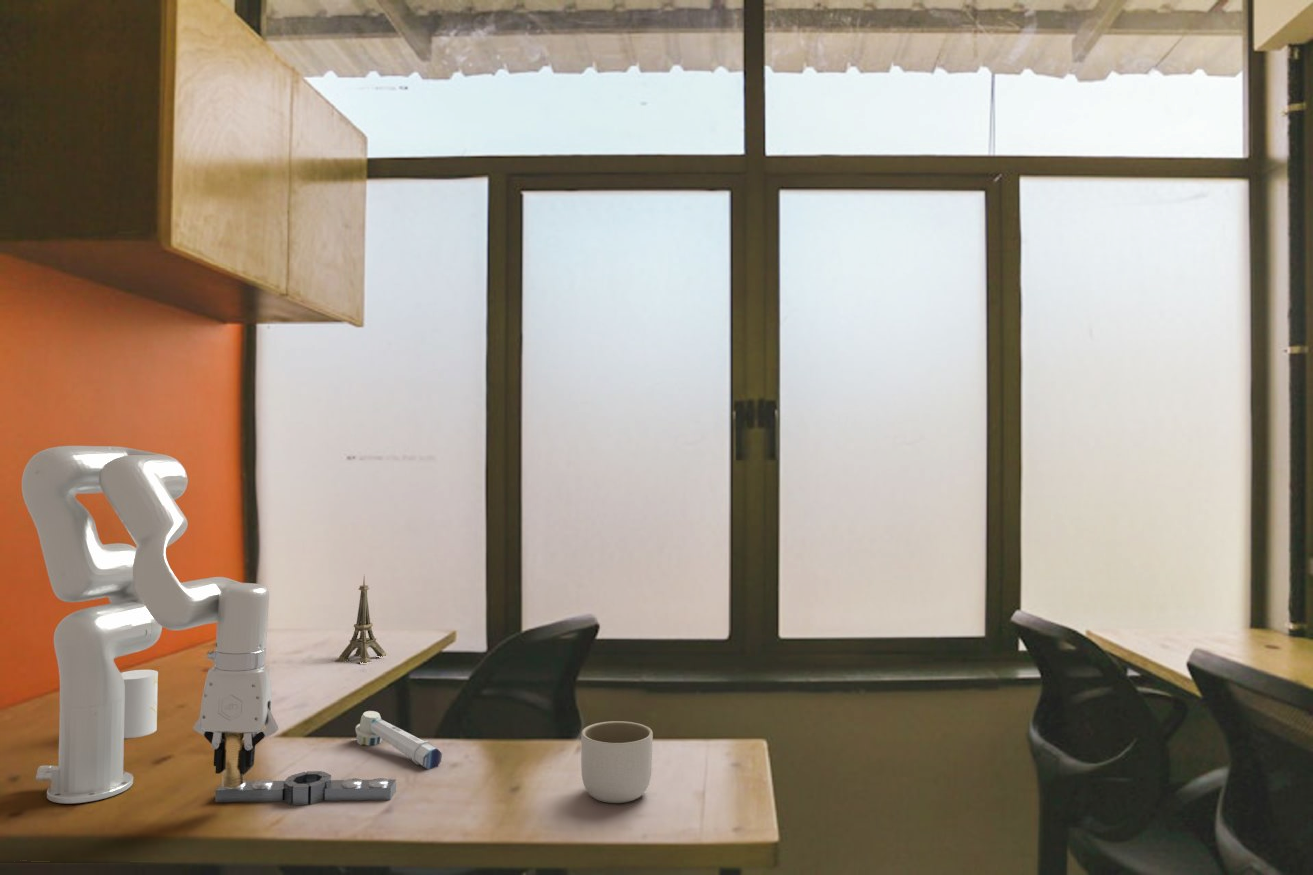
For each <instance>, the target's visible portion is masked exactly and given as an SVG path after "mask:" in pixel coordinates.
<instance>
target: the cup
mask: <svg viewBox="0 0 1313 875" xmlns="http://www.w3.org/2000/svg"><path fill="white" fill-rule="evenodd" d="M120 673H121V675H122V677H123V680H124V685H125V707H124V739H133V738H140V737H146V736H148V735H151V734H153V733H155V732H157V726H158V688H159V687H158V685H159V684H158V682H159V680H158V679H159V672H158V671H157V670H153V669H134V670H128V671H124V672H123V671H122V672H120Z"/></svg>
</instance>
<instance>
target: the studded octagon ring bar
mask: <svg viewBox="0 0 1313 875" xmlns="http://www.w3.org/2000/svg"><path fill="white" fill-rule="evenodd" d="M396 791H397V779H395V778H394V779H393V778H391V779H390V778H389V779H388V778H385V777H384V778H383V777H378V778H373V779H362V778H348V779H347V778H346V779H332V774H329V773H328V772H326V771H322V770H316V771H315V770H312V771H311V770H308V771H302V772H299V773H294V774H291V775H290V776H288V777H286V778H285V780H272V779H268V778H267V779H259V780H244V781H243V784H242V785H240V786H238V787H232V788H227V787H223V786H222V784H221V785H219V786H218V788H216V790H215V796H214V797H215V799H214V800H215V803H252V802H255V803H257V802H258V803H260V802H261V803H263V802H264V803H265V802H266V803H267V802H269V803H271V802H283V801H284V802H285V803H287V804H289V805H292V806H299V805H300V806H307V805H309V804H310V805H313V804H316V803H320V802H323V801H324V802H329V801H332V802H333V801H334V802H335V801H341V802H343V801H389V800H390V801H391V800H392V798H393V797H394V795H395V793H396Z"/></svg>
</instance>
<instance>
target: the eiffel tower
mask: <svg viewBox="0 0 1313 875" xmlns="http://www.w3.org/2000/svg"><path fill="white" fill-rule="evenodd" d="M365 581H366V580H365V575H363V583H362V585H359V588H358V590H359V591H360V594H359V595H360V596H359V603H358V611H357V615H356V617H357V618H356V623H355V624H353V628H354V631H353V633H352V634H353V635H352V637H351V639H349V644H348V645H347V646H346V647H345V649H344V650H343V651H342V652H341V654H340V655H339V657H338V658H337V659H335V660H334V662H336V663H346V662H348V661H347V660H349V661H350V658H349V657H350V656H351V654H352V653H353V651H355V650H356V651H355V653H354V654H353V655H360V656H359V657H360V659H359V662H361V663H362V662H363V663H367V662H370V661H371V658H370V655H369V652H368V649H369V648H371V649H372V651H373V652H374V653H375V655H376V656H380V657H381V656H382V657H383V656H386V655H387V652H386V651H385V650H384V649H383V648H382V646H381V645H380V644H379V643H378V642H377V637H375V635H374V633H373V630H372V627H373V626H374V624H373V622H371V618H370V610H369V609H370V608H369V600H368V590H370V588H369V585H366V583H365ZM359 632H360V633H359ZM367 634H368V637H367ZM345 661H346V662H345Z"/></svg>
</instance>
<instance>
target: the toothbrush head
mask: <svg viewBox="0 0 1313 875" xmlns="http://www.w3.org/2000/svg"><path fill="white" fill-rule="evenodd" d="M355 734H356V738H355V739H356V743H357V745H358V744H359V745H360V746H363V745H365V746H368V747H369V746H377V745H379V744H380V743H382V742H383V741H385V742H386V743H387V744H389V745H391V746H392V747H393V748H395V749H396V750H398V751H399V752H401V753H403V755H405V756H407V757H408V758H410V759H411V761H412V762H413V763H414V764H415V765H417V766H419V765H420V766H421V767H423V768H425V769H427V770H430V769H434V768H437V767H439V765H440V764H441V762H442V760H443V759H442V757H443V752H441V751H440V750H439V749H438V748H436V747H435V746H434V745H433V744H432V743H431V742H430V741H429V740H423V739H421V738H418V737H417V736H415V735H413V734H411V733H409V732H407V731H405V730H404V729H401V728H400V727H397V726H395V725H394V724H391V723H389V722H387V721H385V720H383V719H382V717H381V714H380V713H379V712H378V711H374V710H368V711H365V712H363V713H362V715H361V717H360V722H359V723H358V724H356V726H355ZM382 740H383V741H382ZM381 741H382V742H381Z"/></svg>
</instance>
